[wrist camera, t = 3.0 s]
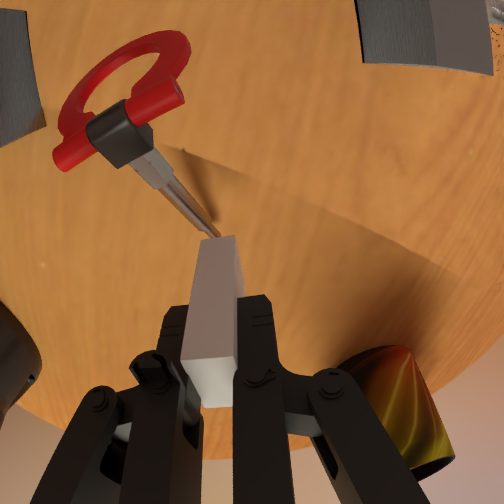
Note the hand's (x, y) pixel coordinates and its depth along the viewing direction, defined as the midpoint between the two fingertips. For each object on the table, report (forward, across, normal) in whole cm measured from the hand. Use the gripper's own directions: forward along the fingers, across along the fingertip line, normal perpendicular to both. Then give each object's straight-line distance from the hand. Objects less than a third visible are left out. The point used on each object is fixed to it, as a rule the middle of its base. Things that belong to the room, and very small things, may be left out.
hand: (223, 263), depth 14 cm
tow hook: (+7, -3, +7) cm, 10 cm away
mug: (+5, +13, -20) cm, 24 cm away
